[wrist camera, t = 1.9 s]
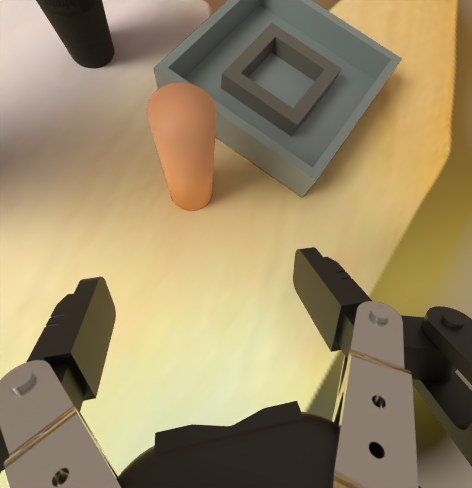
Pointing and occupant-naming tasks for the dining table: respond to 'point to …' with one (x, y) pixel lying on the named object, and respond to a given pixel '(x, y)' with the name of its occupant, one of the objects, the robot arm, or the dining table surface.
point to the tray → (281, 82)
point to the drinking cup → (81, 29)
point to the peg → (184, 141)
